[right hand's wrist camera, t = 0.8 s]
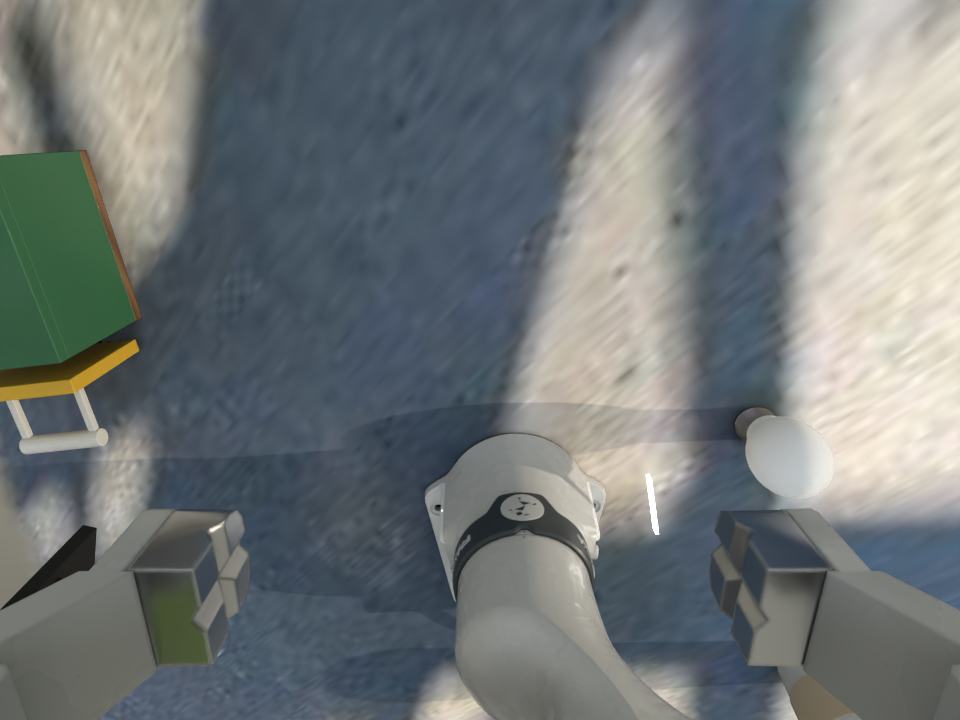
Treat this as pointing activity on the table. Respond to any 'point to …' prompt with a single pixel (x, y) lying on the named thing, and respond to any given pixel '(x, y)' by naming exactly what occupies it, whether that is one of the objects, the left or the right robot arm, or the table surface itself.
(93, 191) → the cabinet
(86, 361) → the drawer
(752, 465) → the light bulb
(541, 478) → the right robot arm
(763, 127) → the table surface
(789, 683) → the coffee cup
